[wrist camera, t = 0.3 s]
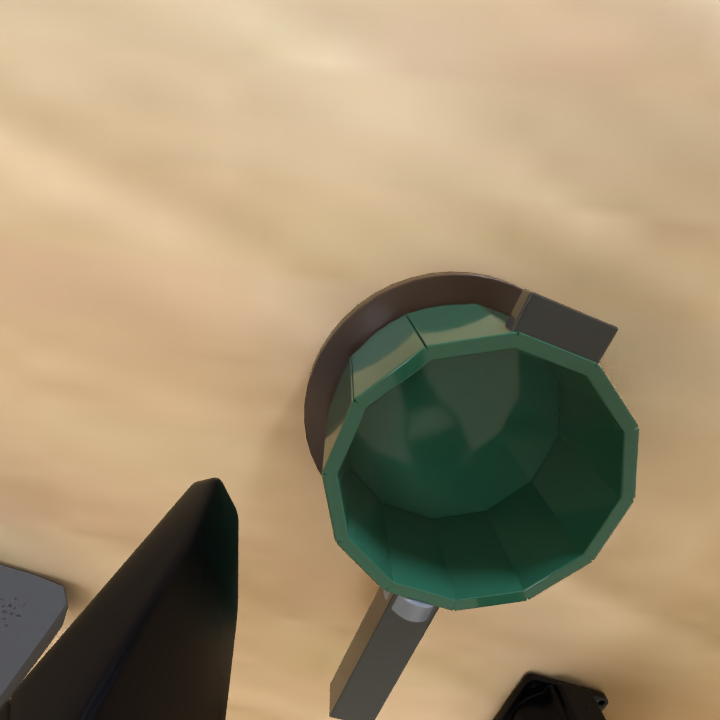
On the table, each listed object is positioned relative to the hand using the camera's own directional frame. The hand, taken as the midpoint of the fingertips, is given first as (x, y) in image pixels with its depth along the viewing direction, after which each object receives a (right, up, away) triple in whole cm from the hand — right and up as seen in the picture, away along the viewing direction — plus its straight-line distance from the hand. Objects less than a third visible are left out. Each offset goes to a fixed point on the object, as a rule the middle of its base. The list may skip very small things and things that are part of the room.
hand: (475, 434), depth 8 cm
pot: (+1, -5, +16) cm, 17 cm away
